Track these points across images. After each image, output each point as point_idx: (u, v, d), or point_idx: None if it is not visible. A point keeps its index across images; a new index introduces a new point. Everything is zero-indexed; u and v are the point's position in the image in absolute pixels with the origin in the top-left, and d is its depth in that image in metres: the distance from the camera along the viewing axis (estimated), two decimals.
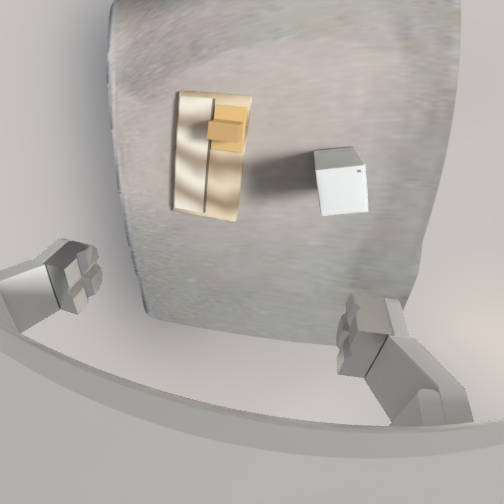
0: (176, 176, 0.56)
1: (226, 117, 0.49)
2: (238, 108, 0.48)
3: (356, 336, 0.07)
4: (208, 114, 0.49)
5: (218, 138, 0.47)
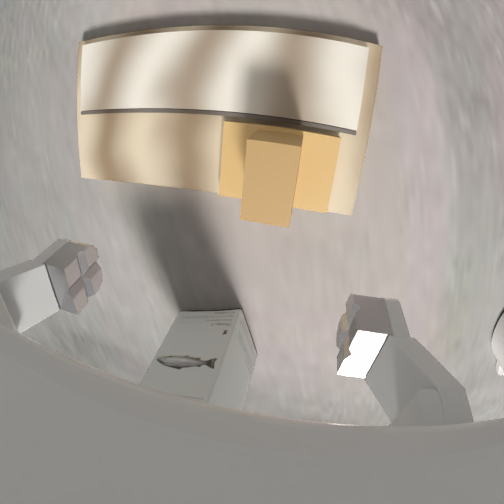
0: (148, 36, 0.17)
1: (305, 163, 0.20)
2: (327, 193, 0.21)
3: (356, 336, 0.07)
4: (315, 116, 0.19)
5: (249, 172, 0.17)
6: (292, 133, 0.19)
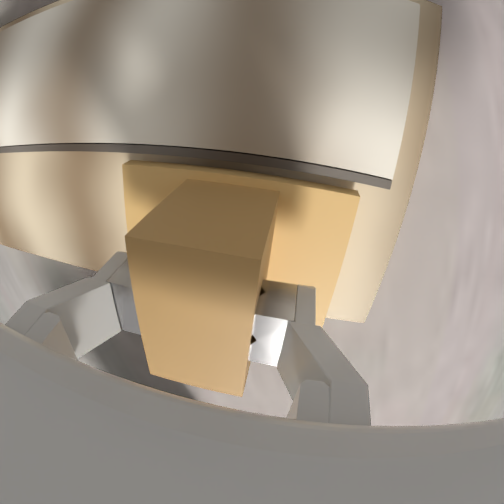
0: (17, 27, 0.07)
1: (284, 246, 0.10)
2: (325, 298, 0.11)
3: (255, 320, 0.07)
4: (305, 148, 0.09)
5: (146, 305, 0.07)
6: (255, 187, 0.09)
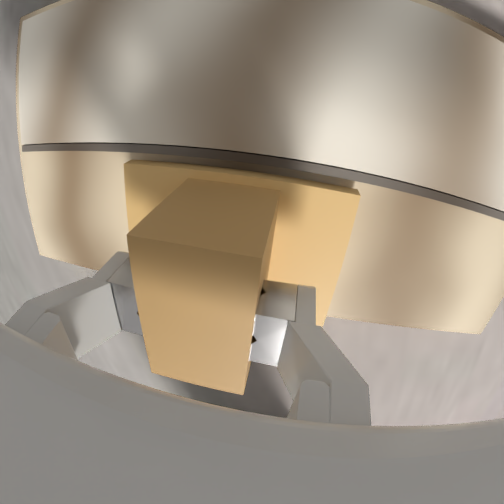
0: None
1: (285, 245, 0.10)
2: (326, 297, 0.11)
3: (255, 320, 0.07)
4: (489, 194, 0.08)
5: (147, 304, 0.07)
6: (256, 186, 0.09)
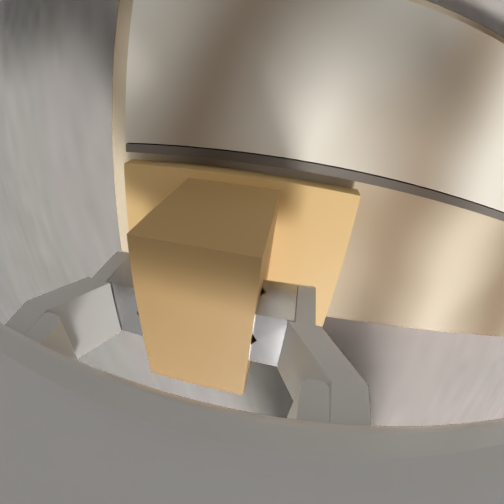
0: None
1: (285, 245, 0.10)
2: (326, 297, 0.11)
3: (254, 320, 0.07)
4: None
5: (147, 303, 0.07)
6: (256, 186, 0.09)
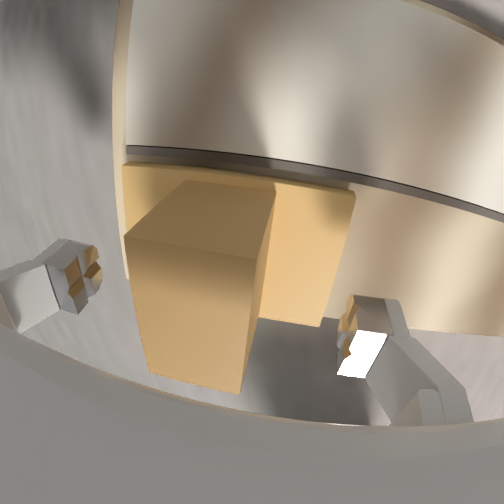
0: None
1: (281, 246, 0.11)
2: (322, 298, 0.11)
3: (356, 336, 0.07)
4: None
5: (144, 304, 0.07)
6: (252, 188, 0.10)
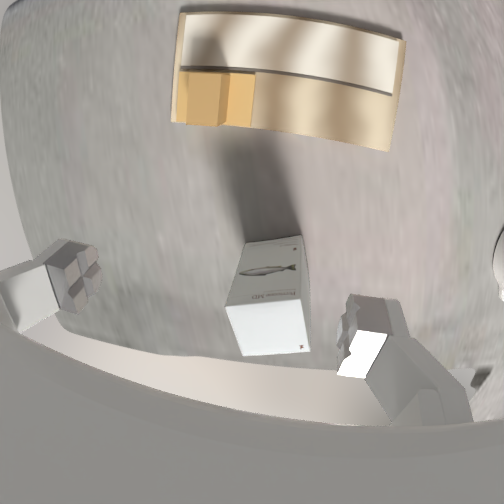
0: (248, 17, 0.24)
1: (232, 93, 0.28)
2: (249, 112, 0.29)
3: (356, 336, 0.07)
4: (366, 82, 0.26)
5: (191, 92, 0.25)
6: None
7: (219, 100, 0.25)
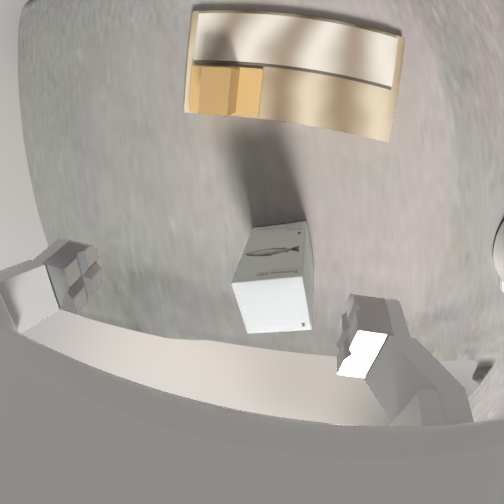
0: (256, 15, 0.26)
1: (242, 86, 0.30)
2: (257, 104, 0.31)
3: (356, 336, 0.07)
4: (366, 76, 0.27)
5: (203, 85, 0.27)
6: None
7: (229, 92, 0.27)
